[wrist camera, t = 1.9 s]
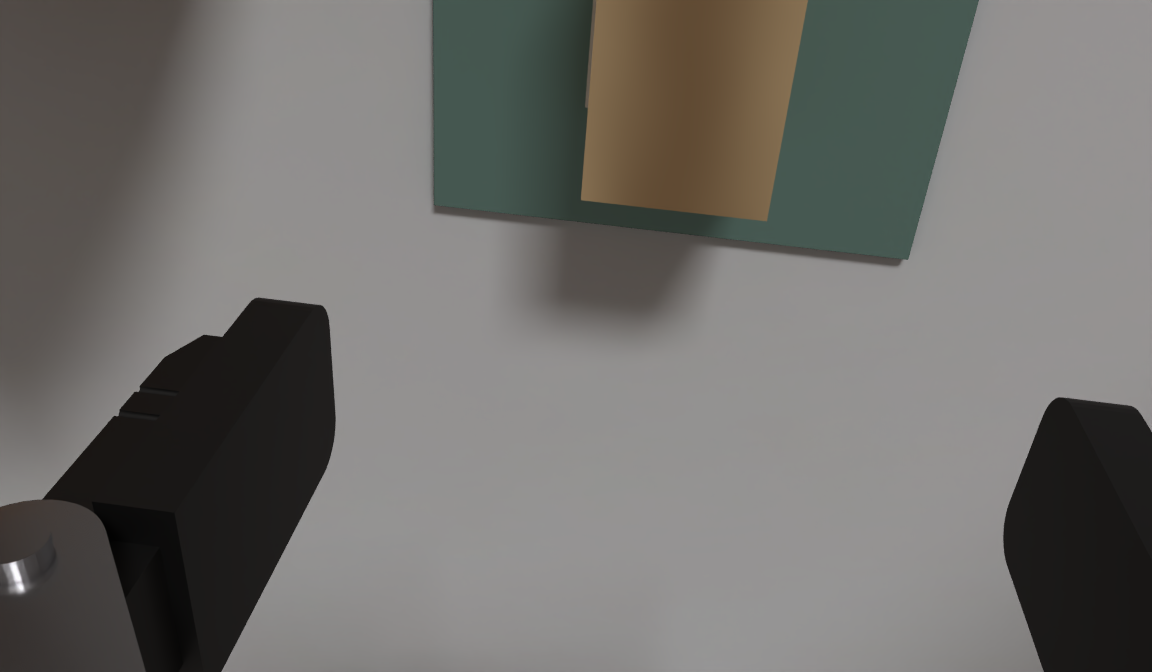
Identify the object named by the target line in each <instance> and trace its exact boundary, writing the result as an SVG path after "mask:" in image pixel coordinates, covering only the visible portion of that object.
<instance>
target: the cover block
mask: <svg viewBox="0 0 1152 672" xmlns="http://www.w3.org/2000/svg"><path fill="white" fill-rule="evenodd" d="M807 3H808V0H596V13H595V26H594V38H593V51H592V64H591V77H590V89H589V102H588V115H587V128H586V140H585V153H584V166H583V179H582V191H581V200H584V201H593V202H601V203H610V204H619V205H628V206H637V207H645V208H654V209H663V210H672V211H681V212H689V213H698V214H707V215H716V216H724V217H733V218H742V219H751V220H760V221H767V218H768V213H769V207H770V202H771V196H772V191H773V186H774V180H775V175H776V170H777V164H778V159H779V153H780V148H781V143H782V137H783V132H784V126H785V121H786V116H787V110H788V105H789V100H790V94H791V89H792V83H793V78H794V73H795V67H796V62H797V57H798V51H799V46H800V40H801V35H802V30H803V24H804V19H805V13H806V8H807Z"/></svg>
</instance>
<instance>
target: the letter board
mask: <svg viewBox="0 0 1152 672" xmlns="http://www.w3.org/2000/svg"><path fill="white" fill-rule="evenodd" d="M978 2H979V0H808V3H807V8H806V13H805V19H804V24H803V30H802V35H801V40H800V46H799V51H798V57H797V62H796V67H795V73H794V78H793V83H792V89H791V94H790V100H789V105H788V110H787V116H786V121H785V126H784V132H783V137H782V143H781V148H780V153H779V159H778V164H777V170H776V175H775V180H774V186H773V191H772V196H771V202H770V207H769V213H768V218H767V221H760V220H751V219H742V218H733V217H724V216H716V215H707V214H698V213H689V212H681V211H672V210H663V209H654V208H645V207H637V206H628V205H619V204H610V203H601V202H593V201H584V200H581V191H582V179H583V166H584V153H585V140H586V128H587V115H588V102H589V89H590V77H591V64H592V51H593V38H594V26H595V13H596V0H433V66H434V205H438V206H446V207H455V208H464V209H473V210H481V211H490V212H499V213H507V214H516V215H525V216H533V217H542V218H551V219H559V220H568V221H577V222H585V223H594V224H603V225H611V226H620V227H629V228H637V229H646V230H655V231H663V232H672V233H681V234H689V235H698V236H707V237H715V238H724V239H733V240H742V241H750V242H759V243H768V244H776V245H785V246H794V247H802V248H811V249H820V250H828V251H837V252H846V253H854V254H863V255H872V256H880V257H889V258H898V259H906V260H908V258H909V255H910V251H911V247H912V244H913V240H914V236H915V233H916V229H917V225H918V222H919V218H920V214H921V211H922V207H923V203H924V200H925V196H926V192H927V189H928V185H929V181H930V178H931V174H932V170H933V167H934V163H935V159H936V156H937V152H938V148H939V145H940V141H941V137H942V134H943V130H944V126H945V123H946V119H947V115H948V112H949V108H950V104H951V101H952V97H953V93H954V90H955V86H956V82H957V79H958V75H959V71H960V68H961V64H962V60H963V57H964V53H965V49H966V46H967V42H968V38H969V35H970V31H971V27H972V24H973V20H974V16H975V13H976V9H977V5H978Z"/></svg>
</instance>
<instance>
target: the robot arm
mask: <svg viewBox="0 0 1152 672" xmlns="http://www.w3.org/2000/svg"><path fill="white" fill-rule="evenodd" d="M335 422H336V417H335V401H334V386H333V371H332V356H331V341H330V327H329V319H328V315H327V312H326V310H325V308H324V307H323V306H321V305H315V304H307V303H298V302H290V301H282V300H274V299H266V298H255V299H253V300H252V301H251V302H250V303H249V304H248V306H247V307H246V308H245V309H244V311H243V312H242V313H241V314H240V316H239V317H238V318H237V319H236V321H235V322H234V323H233V324H232V326H231V327H230V328H229V329H228V331H227V332H226V333H225V334H224V336H223V337H218V336H210V335H203V336H201V337H199V338H197V339H196V340H194V341H192V342H191V343H189V344H187V345H185V346H184V347H182V348H180V349H178V350H177V351H175V352H173V353H171V354H170V355H168V356H166V357H164V359H163V360H162V361H161V362H160V363H159V364H158V366H157V367H156V368H155V369H154V370H153V371H152V373H151V374H150V375H149V376H148V377H147V378H146V380H145V381H144V382H143V383H142V384H141V385H140V391H139V392H134V393H133V395H132V396H131V397H130V398H129V399H128V400H127V402H126V403H125V404H124V405H123V406H122V407H121V409H120V412H119V416H114V417H113V418H112V419H111V420H110V421H109V422H108V424H107V425H106V426H105V427H104V428H103V429H102V431H101V432H100V433H99V434H98V435H97V436H96V438H95V439H94V440H93V441H92V442H91V443H90V445H89V446H88V447H87V448H86V449H85V450H84V451H83V453H82V454H81V455H80V456H79V457H78V458H77V460H76V461H75V462H74V463H73V464H72V465H71V467H70V468H69V469H68V470H67V471H66V472H65V474H64V475H63V476H62V477H61V478H60V479H59V481H58V482H57V483H56V484H55V485H54V486H53V487H52V489H51V490H50V491H49V492H48V493H47V494H46V496H45V497H44V498H43V499H42V500H32V501H23V502H18V503H14V504H9V505H5V506H2V507H0V672H221V671H222V669H223V667H224V665H225V664H226V662H227V660H228V658H229V656H230V654H231V652H232V650H233V648H234V646H235V644H236V642H237V640H238V638H239V636H240V635H241V633H242V631H243V629H244V627H245V625H246V623H247V621H248V619H249V617H250V615H251V613H252V611H253V609H254V608H255V606H256V604H257V602H258V600H259V598H260V596H261V594H262V592H263V590H264V588H265V586H266V584H267V582H268V581H269V579H270V577H271V575H272V573H273V571H274V569H275V567H276V565H277V563H278V561H279V559H280V557H281V555H282V553H283V552H284V550H285V548H286V546H287V544H288V542H289V540H290V538H291V536H292V534H293V532H294V530H295V528H296V526H297V525H298V523H299V521H300V519H301V517H302V515H303V513H304V511H305V509H306V507H307V505H308V503H309V501H310V499H311V497H312V496H313V494H314V492H315V490H316V488H317V486H318V484H319V482H320V480H321V478H322V476H323V474H324V472H325V470H326V468H327V465H328V463H329V459H330V456H331V452H332V448H333V442H334V436H335ZM1003 541H1004V554H1005V559H1006V563H1007V566H1008V569H1009V572H1010V575H1011V578H1012V581H1013V584H1014V587H1015V589H1016V592H1017V595H1018V598H1019V601H1020V604H1021V607H1022V610H1023V613H1024V615H1025V618H1026V621H1027V624H1028V627H1029V630H1030V633H1031V636H1032V639H1033V642H1034V644H1035V647H1036V650H1037V653H1038V656H1039V659H1040V662H1041V665H1042V668H1043V670H1044V672H1152V432H1151V430H1150V428H1149V427H1148V425H1147V423H1146V422H1145V420H1144V419H1143V417H1142V415H1141V414H1140V413H1139V411H1138V410H1137V409H1136V408H1134V407H1132V406H1128V405H1120V404H1112V403H1103V402H1095V401H1087V400H1079V399H1071V398H1056V399H1055V400H1053V401H1052V402H1051V403H1050V404H1049V406H1048V407H1047V409H1046V411H1045V413H1044V415H1043V417H1042V420H1041V422H1040V425H1039V428H1038V430H1037V433H1036V435H1035V438H1034V440H1033V443H1032V446H1031V448H1030V451H1029V453H1028V456H1027V458H1026V461H1025V464H1024V466H1023V469H1022V471H1021V474H1020V477H1019V479H1018V482H1017V484H1016V487H1015V489H1014V492H1013V495H1012V497H1011V500H1010V502H1009V505H1008V508H1007V512H1006V517H1005V523H1004V536H1003Z"/></svg>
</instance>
